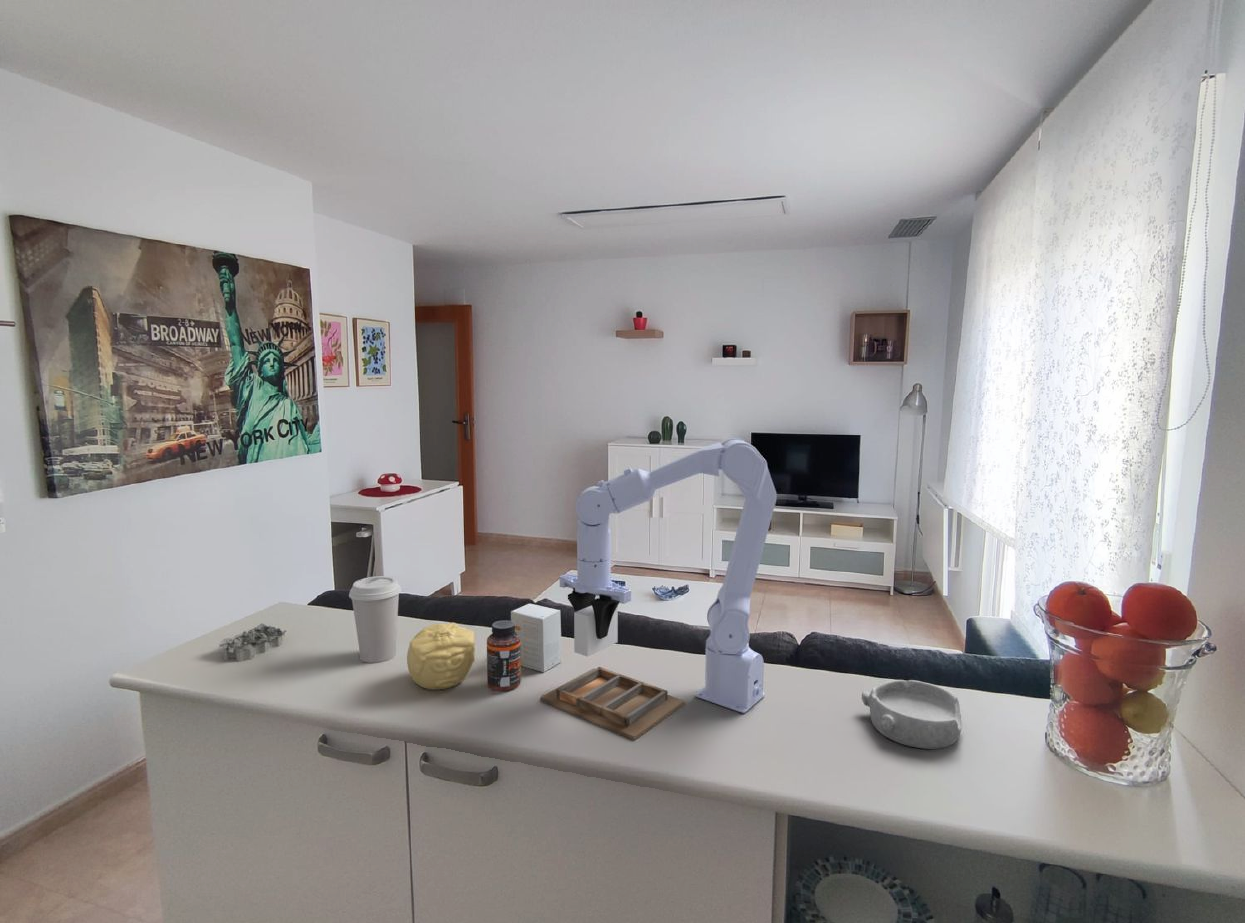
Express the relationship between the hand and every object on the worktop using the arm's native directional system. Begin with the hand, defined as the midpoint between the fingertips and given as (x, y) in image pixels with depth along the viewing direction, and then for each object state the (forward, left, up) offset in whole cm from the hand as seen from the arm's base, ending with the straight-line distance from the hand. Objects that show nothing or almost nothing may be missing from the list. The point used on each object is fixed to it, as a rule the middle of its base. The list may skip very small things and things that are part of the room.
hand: (594, 634), depth 109 cm
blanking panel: (0, -1, -2) cm, 2 cm away
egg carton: (+66, +29, -11) cm, 73 cm away
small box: (+16, -2, -11) cm, 19 cm away
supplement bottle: (+14, +8, -11) cm, 19 cm away
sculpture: (+24, +14, -11) cm, 30 cm away
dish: (-47, -22, -11) cm, 53 cm away
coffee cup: (+43, +15, -11) cm, 47 cm away
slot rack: (-5, +1, -10) cm, 11 cm away
